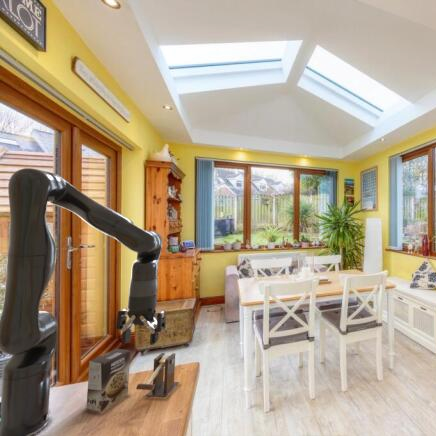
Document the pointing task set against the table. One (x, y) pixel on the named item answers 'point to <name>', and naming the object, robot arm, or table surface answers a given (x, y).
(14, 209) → the robot arm
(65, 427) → the table surface
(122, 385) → the coffee box
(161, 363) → the switch lever
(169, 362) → the switch bracket
